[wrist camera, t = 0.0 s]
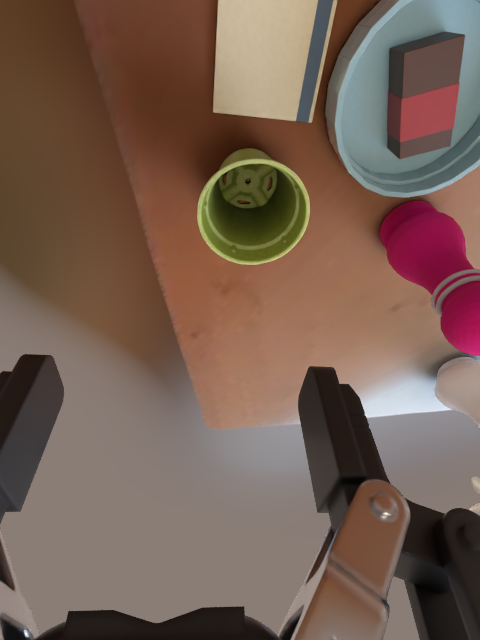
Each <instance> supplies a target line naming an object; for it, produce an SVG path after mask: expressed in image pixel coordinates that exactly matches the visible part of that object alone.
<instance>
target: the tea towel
mask: <svg viewBox="0 0 480 640" xmlns="http://www.w3.org/2000/svg"><path fill="white" fill-rule="evenodd" d="M337 1H338V0H218V12H217V34H216V55H215V76H214V97H213V112H214V113H223V114H233V115H242V116H252V117H261V118H270V119H280V120H289V121H298V122H308V123H312V119H313V114H314V109H315V105H316V100H317V95H318V91H319V86H320V81H321V76H322V72H323V67H324V62H325V57H326V53H327V48H328V43H329V39H330V34H331V29H332V24H333V20H334V15H335V10H336V5H337Z"/></svg>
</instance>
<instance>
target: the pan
mask: <svg viewBox="0 0 480 640" xmlns="http://www.w3.org/2000/svg"><path fill="white" fill-rule="evenodd" d="M445 31H446V32H452V33H458V34H464V35H465V41H464V48H463V56H462V63H461V71H460V78H459V83H460V85H459V92H458V99H457V107H456V114H455V122H454V128H453V131H452V138H451V146H449V147H446V148H442V149H438V150H434V151H430V152H426V153H422V154H419V155H415V156H411V157H407V158H403V159H398V158H397V157H396V156H395V155H394V154H393V153H392V152H391V151H390V150H389V149H388V148H387V140H388V132H387V108H388V91H389V50H390V48H392V47H395V46H398V45H402V44H405V43H408V42H412V41H415V40H418V39H422V38H425V37H428V36H432V35H435V34H438V33H441V32H445ZM328 85H329V86H328V91H327V101H326V110H325V117H326V123H327V130H328V136H329V140H330V142H331V144H332V146H333V148H334V150H335V152H336V154H337V156H338V158H339V160H340V161H341V163H342V164H343V165H344V167H345V168H346V170H347V171H348V172H349V174H351V175H352V176H353V177H354V178H355V179H356V180H357V181H358V182H359V183H360V184H361V185H362V186H363V187H364V188H366V189H369V190H371V191H373V192H376V193H378V194H380V195H382V196H390V197H401V198H408V197H414V196H419V195H424V194H430V193H432V192H434V191H437V190H439V189H441V188H443V187H446V186H448V185H450V184H452V183H454V182H456V181H458V180H459V179H460V178H462V177H463V176H465V175H466V174H468V173H469V172H470V171H472V170H473V169H475V168H476V167H478V166H479V165H480V0H381V1H380V2H379V3H378V4H377V5H376V6H375V7H374V8H373V9H372V10H371V11H370V12H369V13H368V14H367V15H366V16H365V17H364V18H363V19H362V20H361V21H360V22H359V23H358V25H357V26H356V27H355V29H354V31H353V32H352V34H351V35H350V37H349V39H348V40H347V42H346V44H345V45H344V47H343V48H342V50H341V52H340V53H339V55H338V58H337V61H336V64H335V67H334V69H333V72H332V75H331V78H330V81H329V84H328Z"/></svg>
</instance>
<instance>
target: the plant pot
mask: <svg viewBox="0 0 480 640" xmlns="http://www.w3.org/2000/svg"><path fill="white" fill-rule="evenodd" d="M225 172H227V175H226V184H224V183H223V174H224V173H225ZM270 177H272V178H273V180H272V187H271V189H270V190H268V189H267V188H268V185H269V181H270ZM247 179H249V180H250V183H249V184H246V180H247ZM238 200H242V201H248V202H250V203H249V204H240V203H238ZM309 215H310V202H309V197H308V193H307V191H306V188H305V186H304V184H303V183H302V181H301V180H300V178H299V177H298V176H297V175H296V174H295V173H294V172H293V171H292V170H291V169H289V168H288V167H287V166H285V165H283V164H281V163H279V162H277V161H274V160H272V159H271V158H270V157H269V156H268V155H267V154H266V153H264V152H262V151H260V150H257V149H253V148H245V149H240V150H237V151H235V152H234V153H232V154H231V155H229V156H228V157H227V158H226V159H225V160H224V161H223V163H222V165H221V167H220V169H219V171H217V172H216V173H215V174H214V175H213V176H212V177H211V178H210V179H209V181H208V182H207V183H206V185H205V186H204V188H203V190H202V192H201V195H200V197H199V201H198V206H197V221H198V226H199V229H200V232H201V235H202V236H203V238H204V240H205V242H206V243H207V244H208V246H209V247H210V248H211V249H212V250H213V251H214V252H215V253H217V254H218V255H219V256H221V257H223V258H224V259H227V260H229V261H232V262H235V263H239V264H247V265H256V264H262V263H266V262H270V261H273V260H275V259H278V258H280V257H281V256H283V255H285V254H286V253H287V252H289V251H290V250H291V249H292V248H293V247H294V246H295V245H296V244H297V243H298V241H299V240H300V239H301V237H302V236H303V234H304V232H305V230H306V227H307V224H308V221H309Z"/></svg>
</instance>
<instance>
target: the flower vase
mask: <svg viewBox="0 0 480 640" xmlns="http://www.w3.org/2000/svg"><path fill="white" fill-rule="evenodd" d="M437 377H438V378H437V380H436V382H435V386H434V392H435V395H436V397H437V398H438V400H439V401H440V402H441V403H442V404H444V405H445V406H447V407H448V408H450V409H453V410H456V411H460V412H462V413H464V414H465V415H467V416H468V417H469V418H470V419H471V420H472V421H473V422H474V423H475V424H476V425H477V426H478V427H479V429H480V361H476V360H475V359H474V358H471V357H458V358H454V359H452V360H449V361H448V362H446V363H445V364H443V365H442V366H441V367H440V368H439V370H438V372H437ZM471 483H472V486H473V487H474V489H475V490H476V491H477V493H478V494H480V478H479V477H473V478H472V479H471ZM469 510H470V511H472V512H474V513H476V514H478V515H479V516H480V502H479V503H476V504H474V505H473V506H471V507H470V509H469Z"/></svg>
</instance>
